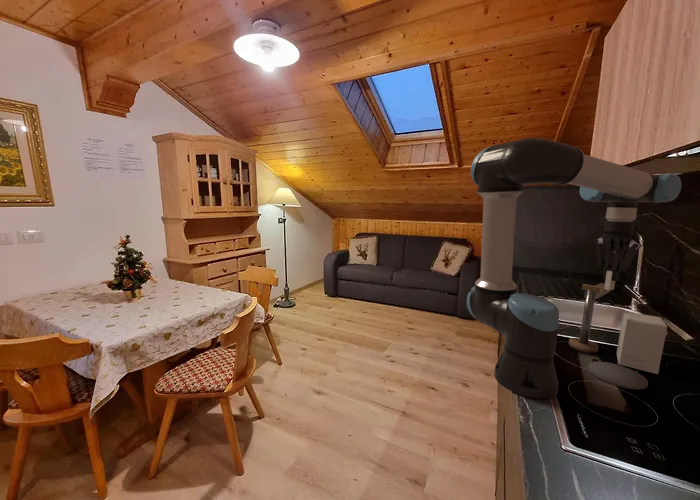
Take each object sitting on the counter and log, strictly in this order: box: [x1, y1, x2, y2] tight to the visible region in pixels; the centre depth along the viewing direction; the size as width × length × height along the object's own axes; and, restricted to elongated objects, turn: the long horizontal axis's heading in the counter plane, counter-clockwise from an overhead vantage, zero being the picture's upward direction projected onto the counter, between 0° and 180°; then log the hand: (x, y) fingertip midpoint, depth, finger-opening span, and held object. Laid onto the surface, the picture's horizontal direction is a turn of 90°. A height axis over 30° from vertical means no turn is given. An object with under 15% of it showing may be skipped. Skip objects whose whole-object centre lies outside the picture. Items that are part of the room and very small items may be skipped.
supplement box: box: [616, 310, 668, 375], centre depth 94 cm, size 9×9×15 cm
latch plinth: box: [568, 337, 599, 354], centre depth 105 cm, size 8×8×2 cm
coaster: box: [587, 361, 649, 391], centre depth 88 cm, size 13×13×1 cm
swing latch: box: [579, 282, 611, 344], centre depth 108 cm, size 17×5×20 cm, turn 127°
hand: (608, 289), depth 105 cm, fingers closed
